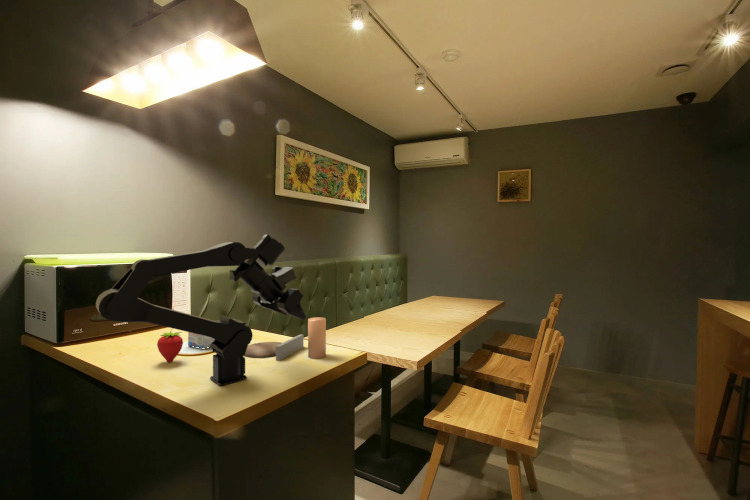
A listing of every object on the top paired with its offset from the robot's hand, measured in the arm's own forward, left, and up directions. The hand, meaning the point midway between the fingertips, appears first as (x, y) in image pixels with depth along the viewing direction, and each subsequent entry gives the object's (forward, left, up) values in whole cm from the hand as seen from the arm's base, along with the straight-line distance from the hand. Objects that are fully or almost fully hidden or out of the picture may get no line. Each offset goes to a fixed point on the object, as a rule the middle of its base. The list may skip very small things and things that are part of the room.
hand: (295, 316), depth 99 cm
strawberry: (-25, +25, -13) cm, 37 cm away
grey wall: (+3, +8, -13) cm, 15 cm away
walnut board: (-1, +16, -13) cm, 20 cm away
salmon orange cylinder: (+7, 0, -13) cm, 15 cm away
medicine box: (-13, +35, -13) cm, 39 cm away
